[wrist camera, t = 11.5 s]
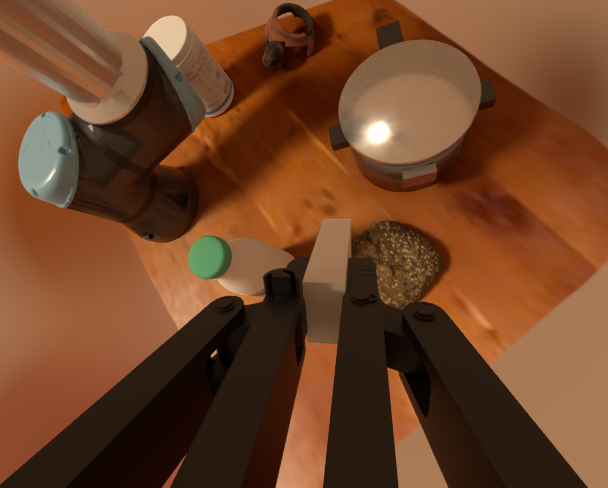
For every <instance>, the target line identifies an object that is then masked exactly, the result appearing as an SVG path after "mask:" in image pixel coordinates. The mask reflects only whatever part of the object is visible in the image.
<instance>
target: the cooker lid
mask: <svg viewBox="0 0 608 488" xmlns="http://www.w3.org/2000/svg"><path fill="white" fill-rule="evenodd" d="M376 33H377V38H378V43H379V48H380V51H378V52H376V53H374V54H373V55H371V56H370V57H368V58H367V59H366V60H365V61H364V62H362V63H361V64H360V65H359V66H358V67H357V68H356V69H355V71H354V72H353V73H352V74H351V76H350V77H349V79H348V81H347V82H346V84H345V86H344V88H343V90H342V94H341V97H340V101H339V111H338V113H339V121H340V125H341V128H342V131H343V134H344V136H345V138H346V140H347V141H348V143H349V145H350V146H351V147H352V148H353V149H354V150H355V151H356V152H357V153H358V154H359V155H361V156H363V157H364V158H366V159H368V160H370V161H372V162H374V163H378V164H381V165H386V166H397V167H401V166H411V165H417V164H421V163H424V162H427V161H430V160H432V159H434V158H437V157H438V156H440V155H442V154H444V153H445V152H447V151H448V150H449V149H451V148H452V147H453V146H454V145H456V144H457V143H458V142H459V141H460V140H461V139H462V137H463V136H464V135H465V134H466V133H467V131H468V129H469V128H470V126H471V125H472V123H473V120H474V118H475V116H476V113H477V111H478V107H479V104H480V98H481V83H480V79H479V75H478V73H477V70H476V68H475V67H474V65H473V63H472V62H471V61H470V60H469V58H468V57H467V56H466V55H465V54H463V53H462V52H461V51H460V50H458V49H456V48H454V47H453V46H450V45H448V44H445V43H442V42H438V41H433V40H409V41H404V40H403V36H402V32H401V28H400V24H399V20H398V21H395V22H393V23H390V24H387V25H385V26H382V27H380V28H377V29H376Z"/></svg>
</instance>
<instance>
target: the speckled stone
mask: <svg viewBox="0 0 608 488" xmlns="http://www.w3.org/2000/svg"><path fill="white" fill-rule="evenodd" d="M351 258H371V259H372V260H373V261H374V262H375V263H376V271H377V281H378V292H379V297H380V299H381V300H382V301H383V302H384V303H385V304H387V305H389V306H391V307H394V308H397V309H404V307H405V306H406V305H407V304H409V303H412V302H415V301H416V300H418V299H419V297H420V296H421V295H422V294H423V293H424V292H425V290H426V289H427V287H428V286H429V285H430V284H431V282H432V281H433V279H434V277H436V275H437V273H438V272H439V270H440V268H441V267H442V265H443V260H442V257H441V255H440V253H439V252H438V250H437V249H436V248H435V246H434V245H433V244H432V243H431V242H430V241H428V239H426V238H425V237H424V236H421V235H420V234H419V233H418V231H415V230H414V231H412V230H409V229H408V228H405V227H404V226H401V225H400V224H398V223H394V222H388V221H385V222H382V221H379V222H376V223H375V224H374V225H371V226H370V227H369V229H368V230H366V231H364V232H363V234H362V235H359V236H357V237H355V238H354V239H353V240H352V241H351Z"/></svg>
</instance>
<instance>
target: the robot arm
mask: <svg viewBox="0 0 608 488" xmlns="http://www.w3.org/2000/svg"><path fill="white" fill-rule="evenodd" d="M0 60H1V61H3V62H5V63H7V64H9V65H11V66H12V67H14V68H16V69H18V70H19V71H21V72H23V73H25V74H27V75H29V76H30V77H32V78H34V79H36V80H38V81H39V82H42V83H43V84H45V85H47V86H49V87H51V88H52V89H54V90H56V91H58V92H59V93H61V94H63V95H65V96H66V98H67V101H68V103H69V105H70V107H71V109H72V110H73V113H72V114H71V115H70V116H69V117H66V116H65V115H64V114H62V113H57V112H52V111H50V112H46V113H43V114H41V115H39V116H38V117H37V118H36V119H35V120H34V121H33V122H32V123H31V125H30V126H29V128H28V130H27V132H26V134H25V136H24V138H23V141H22V144H21V148H20V153H19V161H18V167H19V175H20V179H21V182H22V184H23V186H24V187H25V189H26V190H27V191H28V192H29V193H30V194H31V195H33V196H34V197H36V198H38V199H41V200H44V201H46V202H49V203H52V204H55V205H57V206H58V207H61V208H68V209H72V210H76V211H80V212H83V213H86V214H90V215H94V216H98V217H101V218H105V219H108V220H112V221H116V222H119V223H122V224H123V225H124V226H126V227H127V228H129V229H130V230H131V231H133V232H134V233H135V234H137V235H138V236H140V237H141V238H143V239H146V240H149V241H153V242H158V243H165V242H169V241H172V240H174V239H176V238H178V237H179V236H180V235H182V234H183V233H184V232H185V231H186V230H187V228H188V227H189V226H190V224H191V223H192V221H193V219H194V217H195V214H196V211H197V207H198V191H197V187H196V185H195V183H194V181H193V179H192V178H191V177H190V176H189V175H188V174H186V173H184V172H183V171H181V170H179V169H177V168H175V167H172V166H166V165H160V164H159V163H160V162H161V161H162V160H163V159H164V158H165V157H167V156H168V155H169V154H170V153H171V152H172V151H173V150H174V149H175V148H176V147H177V146H178V145H179V144H180V143H181V142H183V141H184V140H185V139H186V138H187V137H188V136H189V135H190V134H191V133H193V132H194V130H195V128H196V127H197V126H198V125H199V123H200V122H201V121H202V120H203V119H204V117H205V115H206V108H205V105H204V103H203V102H202V100H201V99H200V97H199V96H198V95H197V93H196V92H195V91H194V89H193V88H192V87H191V85H190V84H189V83H188V81H187V80H186V79H185V78H184V76H182V74H181V72H180V71H179V70H178V69H177V67H176V66H175V65H174V63H173V62H172V61H171V59H170V58H169V57H168V56H167V54H166V53H165V52H164V51H163V49H162V48H161V47H160V46H159V45H158V43H157V42H156V41H155V40H154V39H153V38H152V37H150V36H146V37H144V38H140V40H139V41H137V40H136V38H134V37H133V36H132V35H130V34H129V33H127V32H125V31H122V30H117V29H108V30H106V29H105V28H103V27H102V26H101V25H100V24H99V23H98V22H97V21H96V20H94V19H93V18H92V17H91V16H90V15H89V14H88V13H87V12H85V11H84V10H83V9H82V8H81V7H80V6H78V5H77V4H76V3H75V2H74V1H73V0H0ZM263 282H264V288H265V295H266V296H265V298H264V300H263V302H260V303H256V304H250V305H244V302H243V300H242V299H241V298H240V297H237V296H224V297H221V298H218V299H216V300H214V301H213V302H211V303H210V304H209V305H208V306H207V307H205V308H204V309H203V310H202V311H201V312H200V313H198V314H197V315H196V316H195V317H194V318H193V319H191V320H190V321H189V322H188V323H187V324H186V325H185V326H183V327H182V328H181V329H180V330H179V331H178V332H176V333H175V334H174V335H173V336H172V337H171V338H170V339H168V340H167V341H166V342H165V343H164V344H163V345H161V346H160V347H159V348H158V349H157V350H156V351H155V352H153V353H152V354H151V355H150V356H149V357H147V358H146V359H145V360H144V361H143V362H142V363H141V364H139V366H137V367H136V368H135V369H134V370H132V371H131V372H130V373H129V374H128V375H127V376H125V377H124V378H123V379H122V380H121V381H120V382H119V383H117V384H116V385H115V386H114V387H113V388H112V389H110V390H109V391H108V392H107V393H106V394H105V395H104V396H102V397H101V398H100V399H99V400H98V401H97V402H95V403H94V404H93V405H92V406H91V407H90V408H88V409H87V410H86V411H85V412H84V413H83V414H81V415H80V416H79V417H78V418H77V419H76V420H74V422H72V423H71V424H70V425H69V426H68V427H66V428H65V429H64V430H63V431H62V432H61V433H60V434H58V435H57V436H56V437H55V438H54V439H52V440H51V441H50V442H49V443H48V444H47V445H46V446H45V447H43V448H42V449H41V450H40V451H39V452H37V453H36V454H35V455H34V456H33V457H32V458H30V459H29V460H28V461H27V462H26V463H25V464H24V465H22V466H21V467H20V468H19V469H18V470H17V471H16V472H14V473H13V474H12V475H11V476H10V477H9V478H7V479H6V480H5V481H4V482H3V483H2V484H0V488H162V486H163V485H164V483H165V482H166V481H167V479H168V478H169V477H170V475H171V474H172V473H173V471H174V470H175V469H176V467H177V466H178V465H179V463H180V462H181V461H182V459H183V458H184V456H185V455H186V454H187V455H186V457H185V459H184V461H183V463H182V465H181V467H180V469H179V471H178V473H177V475H176V477H175V479H174V481H173V483H172V485H171V487H170V488H275V487H276V483H277V478H278V474H279V469H280V465H281V460H282V456H283V451H284V447H285V442H286V438H287V433H288V429H289V424H290V420H291V415H292V411H293V406H294V402H295V397H296V393H297V388H298V384H299V379H300V375H301V370H302V366H303V361H304V357H305V352H306V349H305V338H306V334H307V340H308V342H316V343H332V344H338V347H337V357H336V366H335V376H334V386H333V395H332V405H331V415H330V425H329V434H328V444H327V454H326V463H325V473H324V483H323V488H398V478H397V466H396V456H395V445H394V435H393V424H392V413H391V403H390V392H389V382H388V371H387V367H388V368H391V369H394V370H397V371H399V376H400V379H401V381H402V383H403V385H404V388H405V390H406V392H407V394H408V397H409V399H410V401H411V404H412V406H413V408H414V410H415V413H416V415H417V417H418V419H419V422H420V424H421V426H422V428H423V430H424V433H425V435H426V438H427V440H428V442H429V444H430V447H431V449H432V451H433V453H434V456H435V458H436V460H437V462H438V465H439V467H440V469H441V472H442V474H443V476H444V478H445V481H446V483H447V485H448V488H588V487H587V486H586V485H585V484H584V482H583V481H582V480H581V479H580V477H579V476H578V475H577V474H576V473H575V471H574V470H573V469H572V468H571V466H570V465H569V464H568V463H567V461H566V460H565V459H564V458H563V456H562V455H561V454H560V453H559V452H558V450H557V449H556V448H555V447H554V445H553V444H552V443H551V442H550V440H549V439H548V438H547V437H546V435H545V434H544V433H543V432H542V431H541V429H540V428H539V427H538V426H537V424H536V423H535V422H534V421H533V420H532V418H531V417H530V416H529V415H528V413H527V412H526V411H525V410H524V409H523V407H522V406H521V405H520V404H519V403H518V401H517V400H516V399H515V397H514V396H513V395H512V394H511V392H510V391H509V390H508V389H507V387H506V386H505V385H504V384H503V382H502V381H501V380H500V379H499V378H498V376H497V375H496V374H495V373H494V371H493V370H492V369H491V368H490V366H489V365H488V364H487V363H486V361H485V360H484V359H483V358H482V357H481V355H480V354H479V353H478V352H477V350H476V349H475V348H474V347H473V345H472V344H471V343H470V342H469V341H468V339H467V338H466V337H465V336H464V334H463V333H462V332H461V331H460V329H459V328H458V327H457V326H456V324H455V323H454V322H453V321H452V320H451V318H450V317H449V316H448V315H447V313H446V312H445V311H444V310H443V309H441V308H440V307H439V306H437V305H434V304H432V303H428V302H412V303H409V304H407V305H406V306H405V307H404V309H403V310H401V309H397V308H394V307H391V306H389V305H387V304H385V303H384V302H383V301H382V300H381V299H380V297H379V292H378V281H377V271H376V263H375V262H374V261H373V260H372V259H371V258H351V219H323V221H322V224H321V227H320V230H319V233H318V236H317V239H316V242H315V245H314V248H313V251H312V254H311V257H310V258H294V259H293V260H292V261H291V262H289V263H288V265H287V267H286V268H278V269H274V270H271V271H269V272H267V273H266V274H265V275H264V276H263ZM215 350H217V353H216V354H215V355H214V356H213V357H212V358H211V355H212V354H213V352H214V351H215ZM187 452H188V453H187Z"/></svg>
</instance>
